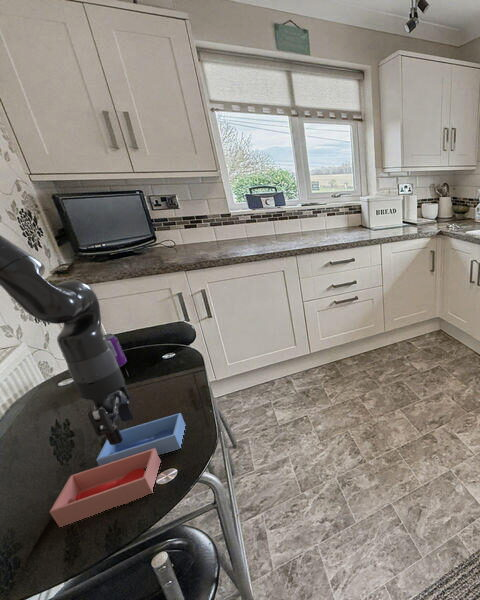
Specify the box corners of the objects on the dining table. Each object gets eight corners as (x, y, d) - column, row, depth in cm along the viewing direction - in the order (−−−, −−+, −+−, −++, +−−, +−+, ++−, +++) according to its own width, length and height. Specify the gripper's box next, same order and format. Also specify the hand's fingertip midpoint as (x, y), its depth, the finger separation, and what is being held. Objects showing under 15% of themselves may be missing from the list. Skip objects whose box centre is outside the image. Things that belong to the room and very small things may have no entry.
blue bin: (104, 475, 73) (96, 460, 72) (117, 448, 81) (109, 433, 79) (180, 449, 79) (174, 435, 77) (186, 426, 87) (180, 412, 85)
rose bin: (60, 528, 62) (49, 512, 61) (79, 490, 70) (70, 475, 68) (153, 494, 68) (145, 478, 66) (161, 462, 75) (155, 447, 74)
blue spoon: (114, 463, 76) (110, 456, 75) (120, 450, 79) (116, 443, 79) (173, 444, 80) (170, 437, 79) (176, 432, 84) (173, 425, 83)
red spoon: (73, 512, 65) (69, 504, 64) (83, 494, 68) (78, 487, 68) (145, 486, 69) (141, 479, 68) (150, 471, 73) (146, 464, 72)
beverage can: (131, 360, 124) (119, 331, 120) (120, 370, 118) (107, 340, 113) (111, 362, 123) (98, 334, 119) (98, 373, 117) (84, 343, 112)
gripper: (87, 361, 76) (113, 417, 81) (58, 394, 63) (90, 458, 69) (127, 353, 78) (149, 408, 84) (106, 383, 66) (133, 445, 72)
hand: (122, 430), depth 77 cm, fingers open, 8 cm apart
